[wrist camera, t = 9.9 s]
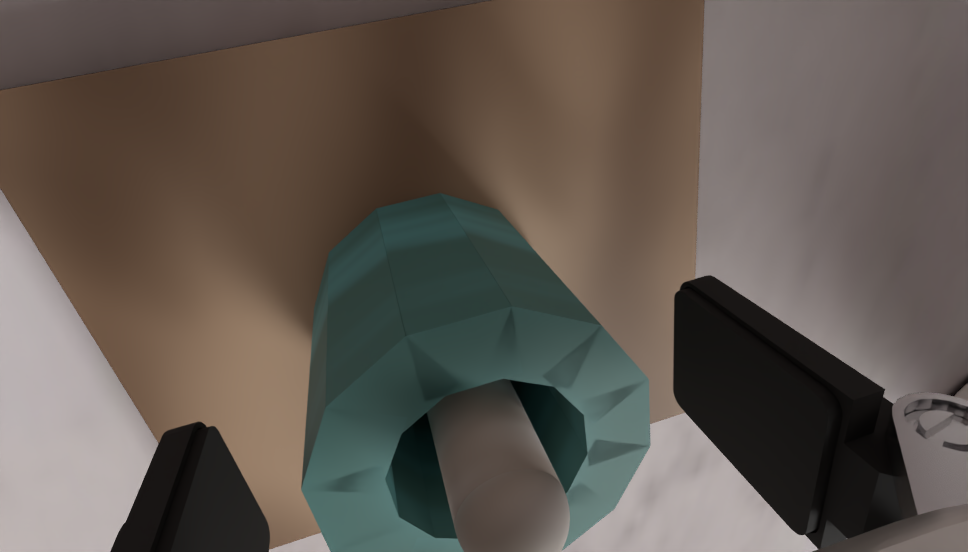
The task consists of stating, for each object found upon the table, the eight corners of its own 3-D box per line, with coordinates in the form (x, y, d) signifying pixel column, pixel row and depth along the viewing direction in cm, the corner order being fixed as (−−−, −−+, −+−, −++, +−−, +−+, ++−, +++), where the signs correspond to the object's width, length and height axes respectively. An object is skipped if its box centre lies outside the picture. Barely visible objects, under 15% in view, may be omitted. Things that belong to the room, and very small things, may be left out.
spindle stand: (669, -33, 14) (1189, -124, 5) (667, 385, 20) (899, 635, 12) (-8, 91, 11) (-991, 277, 3) (239, 521, 18) (157, 955, 9)
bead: (523, 172, 13) (646, 268, 8) (548, 360, 16) (651, 521, 11) (285, 230, 12) (248, 380, 7) (355, 418, 15) (366, 626, 10)
